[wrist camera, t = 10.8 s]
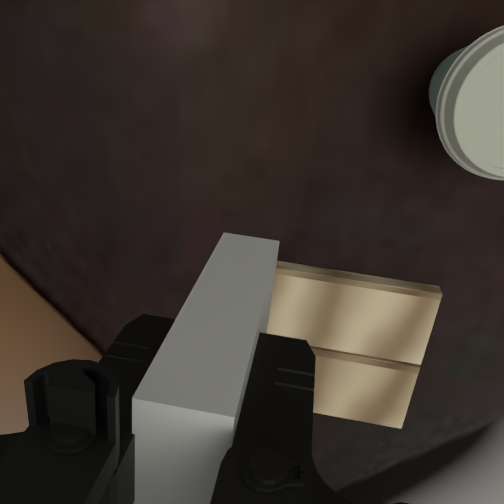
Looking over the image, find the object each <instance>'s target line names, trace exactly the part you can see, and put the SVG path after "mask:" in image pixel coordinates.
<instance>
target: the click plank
mask: <svg viewBox="0 0 504 504" xmlns="http://www.w3.org/2000/svg"><path fill="white" fill-rule="evenodd" d="M441 298H442V292H441V290H440V287H439V286H435V285H429V284H423V283H416V282H410V281H404V280H397V279H391V278H384V277H378V276H372V275H365V274H359V273H353V272H346V271H340V270H333V269H327V268H321V267H314V266H308V265H302V264H295V263H289V262H282V261H277V263H276V270H275V278H274V285H273V292H272V300H271V307H270V314H269V321H268V328H267V334H273V335H279V336H285V337H291V338H296V339H302V340H307V342H308V344H309V345H310V346H314V347H320V348H326V349H332V350H338V351H343V352H349V353H355V354H361V355H367V356H372V357H378V358H384V359H390V360H396V361H401V362H407V363H413V364H419V365H421V363H422V359H423V356H424V353H425V350H426V346H427V343H428V340H429V337H430V333H431V330H432V327H433V324H434V320H435V317H436V314H437V310H438V307H439V304H440V301H441Z"/></svg>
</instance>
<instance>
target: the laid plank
mask: <svg viewBox="0 0 504 504" xmlns="http://www.w3.org/2000/svg"><path fill="white" fill-rule="evenodd" d="M310 347H311V349H312V351H313V353H314V354H315V356H316V364H315V385H314V406H313V412H314V413H319V414H325V415H330V416H335V417H341V418H346V419H352V420H357V421H362V422H368V423H373V424H379V425H384V426H389V427H395V428H400V429H401V428H402V425H403V422H404V418H405V415H406V412H407V409H408V405H409V402H410V399H411V396H412V392H413V389H414V386H415V382H416V379H417V376H418V373H419V370H420V365H419V364H413V363H407V362H401V361H396V360H390V359H384V358H378V357H372V356H367V355H361V354H355V353H349V352H343V351H338V350H332V349H326V348H320V347H314V346H310Z"/></svg>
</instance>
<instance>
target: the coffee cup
mask: <svg viewBox="0 0 504 504" xmlns="http://www.w3.org/2000/svg"><path fill="white" fill-rule="evenodd" d="M429 101H430V105H431V108H432V110H433V113H434V115H435V117H436V125H437V130H438V134H439V137H440V140H441V142H442V144H443V146H444V148H445V150H446V151H447V153H448V154H449V155H450V157H451V158H452V159H453V160H454V161H455V162H456V163H457V164H459V165H460V166H461V167H463V168H464V169H466V170H468V171H469V172H471V173H474V174H476V175H479V176H482V177H486V178H490V179H496V180H504V26H501V27H498V28H496V29H494V30H492V31H490V32H488V33H486V34H485V35H483V36H481V37H480V38H478V39H477V40H476V41H474V42H473V43H472V44H471V45H469V46H467V47H464V48H462V49H460V50H458V51H456V52H454V53H452V54H451V55H449V56H448V57H447V58H446V59H444V60H443V61H442V62H441V64H440V65H439V66H438V67H437V69H436V70H435V72H434V74H433V76H432V79H431V82H430V86H429Z"/></svg>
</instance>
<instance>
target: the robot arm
mask: <svg viewBox="0 0 504 504" xmlns="http://www.w3.org/2000/svg"><path fill="white" fill-rule="evenodd" d="M278 249H279V241H276V240H269V239H263V238H256V237H250V236H243V235H237V234H230V233H223V235H222V237H221V239H220V240H219V242H218V244H217V246H216V248H215V249H214V251H213V253H212V255H211V257H210V258H209V260H208V262H207V264H206V266H205V267H204V269H203V271H202V273H201V275H200V276H199V278H198V280H197V282H196V284H195V285H194V287H193V289H192V291H191V293H190V294H189V296H188V298H187V300H186V302H185V304H184V305H183V307H182V309H181V311H180V313H179V314H178V316H177V318H176V319H170V318H164V317H159V316H153V315H147V314H143V315H141V316H140V317H138V318H136V319H135V320H133V321H131V322H130V323H128V324H126V325H125V326H124V328H123V329H122V330H121V332H120V333H119V335H118V336H117V337H116V339H115V340H114V344H113V343H112V344H111V346H110V347H109V349H108V350H107V351H106V353H105V356H103V357H102V358H101V360H100V361H99V362H98V363H97V362H94V361H91V360H75V359H73V360H67V361H61V362H56V363H52V364H51V365H48V366H46V367H43V368H41V369H39V370H37V371H35V372H34V373H33V374H32V375H30V376H29V377H28V378H27V379H25V380H24V385H25V394H26V402H27V411H28V419H29V427H28V428H27V429H26V430H25V431H24V432H19V433H13V434H5V435H0V504H354V503H352V502H350V501H348V500H346V499H345V498H343V497H342V496H340V495H339V494H337V493H335V492H334V491H333V490H332V489H331V488H330V487H329V486H328V485H327V484H326V483H325V482H324V481H323V479H322V478H321V477H320V475H319V474H318V472H317V470H316V468H315V465H314V463H313V460H312V451H311V448H312V427H313V406H314V385H315V364H316V356H315V354H314V353H313V351H312V349H311V347H310V345H309V344H308V342H307V340H302V339H296V338H291V337H285V336H279V335H273V334H267V328H268V321H269V314H270V307H271V300H272V292H273V285H274V278H275V270H276V263H277V256H278ZM395 504H407V503H402V502H400V503H395Z"/></svg>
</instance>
